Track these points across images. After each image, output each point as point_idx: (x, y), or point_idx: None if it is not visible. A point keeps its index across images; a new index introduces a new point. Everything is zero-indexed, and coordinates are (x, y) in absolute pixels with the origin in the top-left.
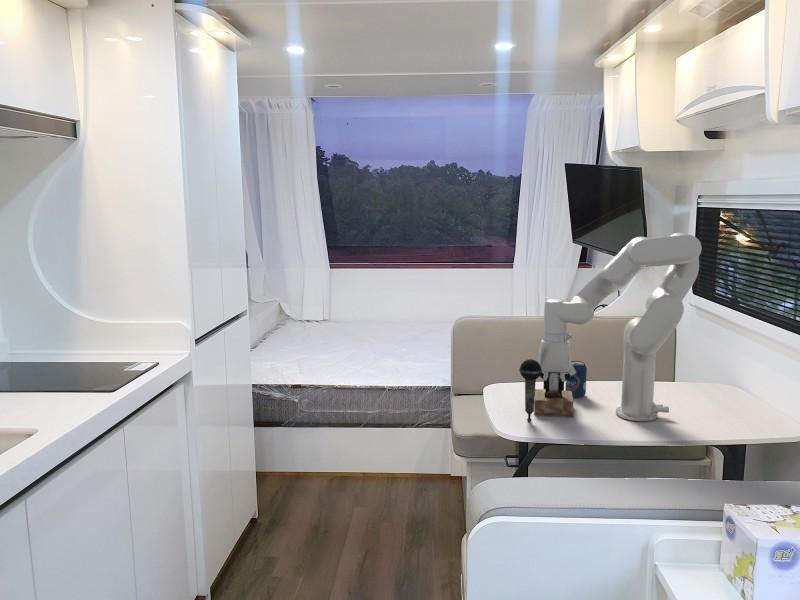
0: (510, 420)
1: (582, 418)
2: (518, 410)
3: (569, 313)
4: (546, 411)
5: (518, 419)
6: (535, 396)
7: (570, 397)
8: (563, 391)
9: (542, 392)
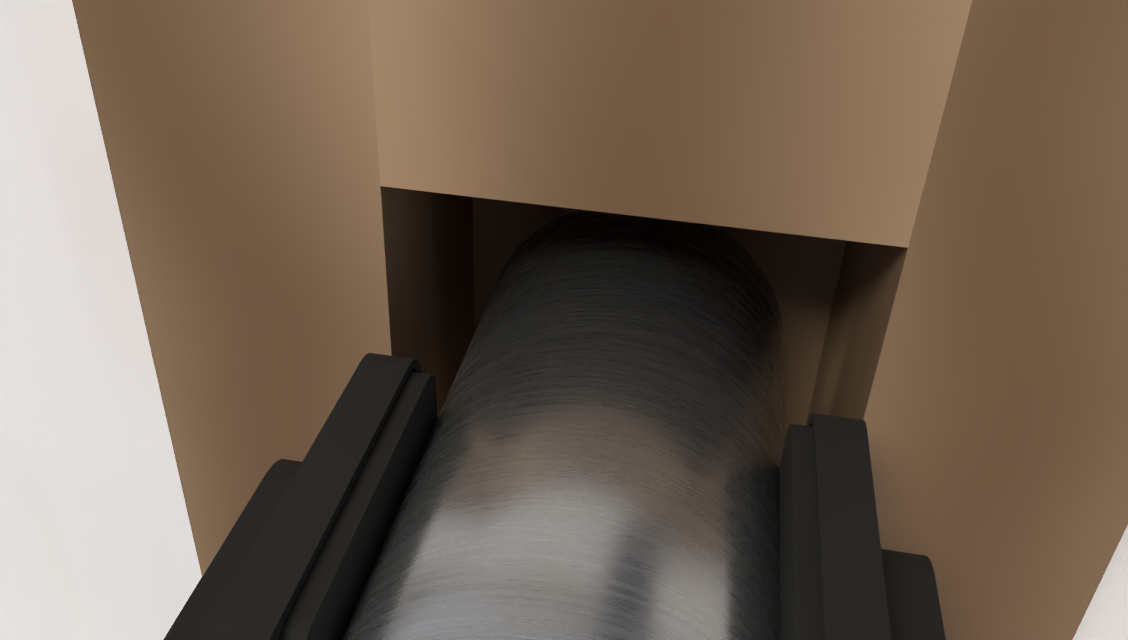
0: (74, 615)
1: (1111, 583)
2: (59, 274)
3: None
4: None
5: (156, 591)
6: (199, 490)
7: (1050, 560)
8: (1028, 38)
9: (321, 196)
